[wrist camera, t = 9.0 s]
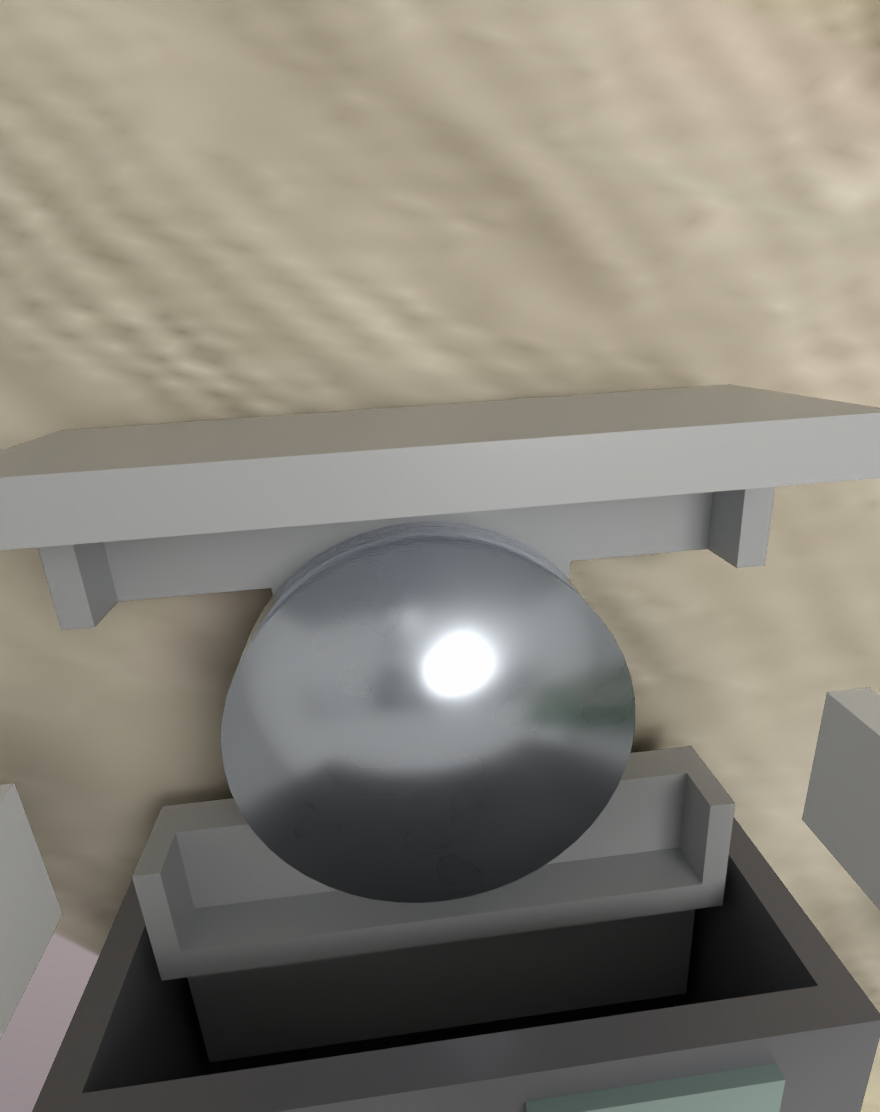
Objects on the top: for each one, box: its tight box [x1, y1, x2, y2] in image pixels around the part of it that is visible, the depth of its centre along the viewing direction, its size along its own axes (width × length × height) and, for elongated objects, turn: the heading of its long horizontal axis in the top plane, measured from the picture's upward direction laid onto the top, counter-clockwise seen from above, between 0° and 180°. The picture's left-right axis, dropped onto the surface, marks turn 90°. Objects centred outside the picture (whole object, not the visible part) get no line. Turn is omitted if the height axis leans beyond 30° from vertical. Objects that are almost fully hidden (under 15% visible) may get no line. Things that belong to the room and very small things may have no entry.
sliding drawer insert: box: [0, 384, 880, 1062], centre depth 14 cm, size 17×14×5 cm
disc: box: [221, 521, 635, 903], centre depth 14 cm, size 8×8×2 cm
